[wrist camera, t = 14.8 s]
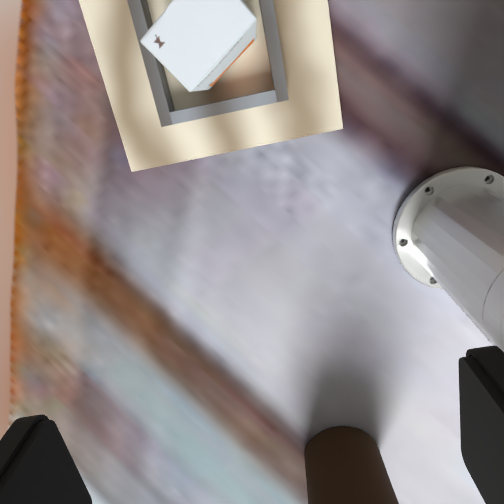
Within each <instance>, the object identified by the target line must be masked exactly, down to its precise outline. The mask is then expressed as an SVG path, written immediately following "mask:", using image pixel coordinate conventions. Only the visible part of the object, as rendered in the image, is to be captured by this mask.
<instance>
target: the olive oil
mask: <svg viewBox="0 0 504 504" xmlns="http://www.w3.org/2000/svg"><path fill="white" fill-rule="evenodd" d="M305 468H306V480H307V492H308V504H399V503H398V500H397V498H396V495H395V493H394V490H393V487H392V485H391V482H390V479H389V476H388V474H387V471H386V468H385V465H384V462H383V460H382V457H381V454H380V451H379V449H378V446H377V444H376V442H375V441H374V439H373V438H372V437H371V436H370V435H369V434H367V433H366V432H364V431H362V430H360V429H357V428H352V427H335V428H330V429H327V430H325V431H323V432H321V433H319V434H318V435H316V436H315V437H314V438H313V439H312V440H311V441H310V442H309V444H308V445H307V448H306V451H305Z"/></svg>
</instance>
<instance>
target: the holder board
mask: <svg viewBox="0 0 504 504" xmlns="http://www.w3.org/2000/svg"><path fill="white" fill-rule="evenodd" d="M171 1H172V0H79V2H80V5H81V9H82V12H83V15H84V18H85V22H86V25H87V28H88V31H89V35H90V38H91V41H92V44H93V48H94V51H95V54H96V57H97V61H98V64H99V67H100V70H101V74H102V77H103V80H104V83H105V87H106V90H107V93H108V96H109V100H110V103H111V106H112V109H113V113H114V116H115V119H116V122H117V125H118V129H119V132H120V135H121V138H122V142H123V145H124V148H125V151H126V155H127V158H128V161H129V164H130V168H131V171H132V172H134V171H139V170H144V169H148V168H153V167H158V166H163V165H168V164H173V163H178V162H183V161H188V160H192V159H197V158H202V157H207V156H212V155H217V154H222V153H227V152H231V151H236V150H241V149H246V148H251V147H256V146H261V145H266V144H271V143H275V142H280V141H285V140H290V139H295V138H300V137H305V136H310V135H315V134H319V133H324V132H329V131H334V130H339V129H343V125H342V116H341V108H340V100H339V91H338V83H337V74H336V66H335V58H334V49H333V41H332V33H331V24H330V16H329V7H328V0H243V1H244V2H245V3H246V5H247V6H248V7H249V8H250V10H251V11H252V12H253V13H254V15H255V16H256V17H257V34H256V40H255V41H254V42H253V43H252V44H251V45H250V47H249V48H248V49H247V50H246V51H245V52H244V53H243V54H242V55H241V56H240V57H239V58H238V59H237V60H236V61H235V62H234V63H233V64H232V65H231V66H230V67H229V68H228V70H227V71H226V72H225V73H224V74H223V75H222V76H221V77H220V78H219V80H218V81H217V82H216V83H215V84H214V85H213V86H212V87H211V89H209V90H202V91H192V92H189V91H188V90H187V89H186V88H185V87H184V86H183V85H182V84H181V83H180V82H179V81H178V80H177V79H176V78H175V77H174V76H173V75H172V74H171V73H170V72H169V71H168V70H167V69H166V68H165V67H164V66H163V65H162V64H161V63H160V61H159V60H158V59H157V58H156V57H155V56H154V55H153V54H152V53H151V52H150V51H149V50H148V49H147V48H146V47H145V46H144V45H143V44H142V43H141V42H140V40H141V39H142V37H143V36H144V35H145V34H146V32H147V31H148V30H149V29H150V28H151V26H152V25H153V24H154V23H155V22H156V20H157V19H158V18H159V17H160V16H161V14H162V13H163V12H164V11H165V9H166V8H167V7H168V5H169V4H170V3H171Z"/></svg>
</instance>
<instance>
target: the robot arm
mask: <svg viewBox="0 0 504 504" xmlns="http://www.w3.org/2000/svg"><path fill="white" fill-rule="evenodd" d="M486 177H487V179H486V180H485V178H486ZM427 187H428V190H427V191H425V189H426V188H427ZM401 239H403V240H402V241H401V242H399V241H400V240H401ZM393 246H394V250H395V254H396V256H397V258H398V260H399V262H400V264H401V265H402V266H403V268H404V269H405V270H406V271H407V272H408V273H409V274H410V275H411V276H412V277H413V278H414V279H416V280H417V281H419V282H421V283H422V284H425V285H427V286H429V287H433V288H439V289H444V290H445V291H446V293H447V294H448V295H449V296H450V297H451V298H452V299H453V300H454V302H455V303H456V304H457V305H458V306H459V307H460V308H461V310H462V311H463V312H464V313H465V314H466V315H467V316H468V317H469V319H470V320H471V321H472V322H473V323H474V324H475V325H476V327H477V328H478V329H479V330H480V331H481V332H482V333H483V334H484V336H485V337H486V338H487V339H488V340H489V341H490V342H491V344H492V345H493V346H488V347H481V348H474V349H469V350H467V352H466V357H462V358H460V359H459V393H460V429H461V452H462V457H463V460H464V463H465V465H466V467H467V469H468V471H469V473H470V475H471V477H472V479H473V481H474V483H475V484H476V486H477V488H478V490H479V492H480V494H481V496H482V498H483V499H484V501H485V503H486V504H504V177H503V176H501V175H500V174H498V173H496V172H493V171H491V170H488V169H484V168H479V167H457V168H451V169H447V170H445V171H442V172H439V173H437V174H435V175H433V176H431V177H429V178H428V179H426V180H424V181H423V182H422V183H421V184H419V185H418V186H417V187H416V188H415V189H413V191H412V192H411V193H410V194H409V195H408V196H407V198H406V199H405V200H404V202H403V204H402V205H401V207H400V209H399V211H398V213H397V216H396V219H395V221H394V227H393ZM431 277H432V278H431ZM430 278H431V279H430ZM0 504H92V499H91V496H90V494H89V492H88V490H87V488H86V486H85V484H84V482H83V480H82V478H81V476H80V474H79V471H78V469H77V467H76V465H75V463H74V461H73V459H72V457H71V455H70V453H69V451H68V449H67V446H66V444H65V442H64V440H63V438H62V436H61V434H60V432H59V430H58V428H57V426H56V424H55V422H54V421H53V420H49V419H48V417H47V416H45V415H35V416H29V417H22V418H19V419H16V420H15V421H14V422H13V424H12V425H11V426H10V428H9V429H8V430H7V432H6V433H5V435H4V436H3V437H2V439H1V440H0Z"/></svg>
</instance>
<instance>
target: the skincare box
mask: <svg viewBox="0 0 504 504" xmlns="http://www.w3.org/2000/svg"><path fill="white" fill-rule="evenodd" d="M256 34H257V17H256V16H255V15H254V13H253V12H252V11H251V10H250V8H249V7H248V6H247V5H246V3H245V2H244V1H243V0H172V1H171V3H170V4H169V5H168V7H167V8H166V9H165V11H164V12H163V13H162V14H161V16H160V17H159V18H158V19H157V20H156V22H155V23H154V24H153V25H152V26H151V28H150V29H149V30H148V31H147V32H146V34H145V35H144V36H143V37H142V39H141V40H140V42H141V43H142V44H143V45H144V46H145V47H146V48H147V49H148V50H149V51H150V52H151V53H152V54H153V55H154V56H155V57H156V58H157V59H158V60H159V61H160V63H161V64H162V65H163V66H164V67H165V68H166V69H167V70H168V71H169V72H170V73H171V74H172V75H173V76H174V77H175V78H176V79H177V80H178V81H179V82H180V83H181V84H182V85H183V86H184V87H185V88H186V89H187V90H188V91H189V92H192V91H202V90H209V89H211V87H212V86H213V85H214V84H215V83H216V82H217V81H218V80H219V78H220V77H221V76H222V75H223V74H224V73H225V72H226V71H227V70H228V68H229V67H230V66H231V65H232V64H233V63H234V62H235V61H236V60H237V59H238V58H239V57H240V56H241V55H242V54H243V53H244V52H245V51H246V50H247V49H248V48H249V47H250V45H251V44H252V43H253V42H254V41H255V40H256Z"/></svg>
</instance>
